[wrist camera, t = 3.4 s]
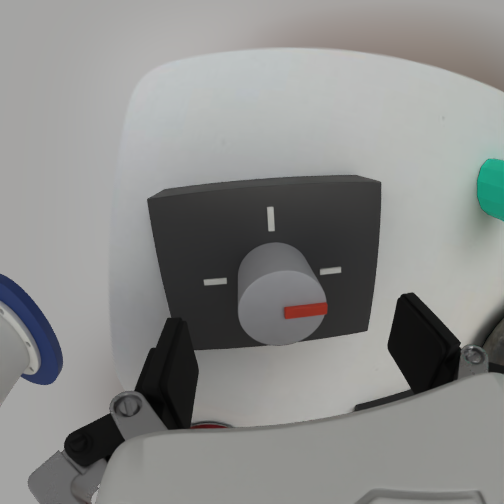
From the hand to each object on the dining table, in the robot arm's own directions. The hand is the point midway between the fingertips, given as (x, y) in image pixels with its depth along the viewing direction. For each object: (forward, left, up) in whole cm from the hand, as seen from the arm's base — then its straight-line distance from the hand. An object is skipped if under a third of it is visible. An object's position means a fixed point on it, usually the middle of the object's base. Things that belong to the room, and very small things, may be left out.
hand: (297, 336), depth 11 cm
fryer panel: (0, 0, -10) cm, 10 cm away
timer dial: (0, 0, -6) cm, 6 cm away
